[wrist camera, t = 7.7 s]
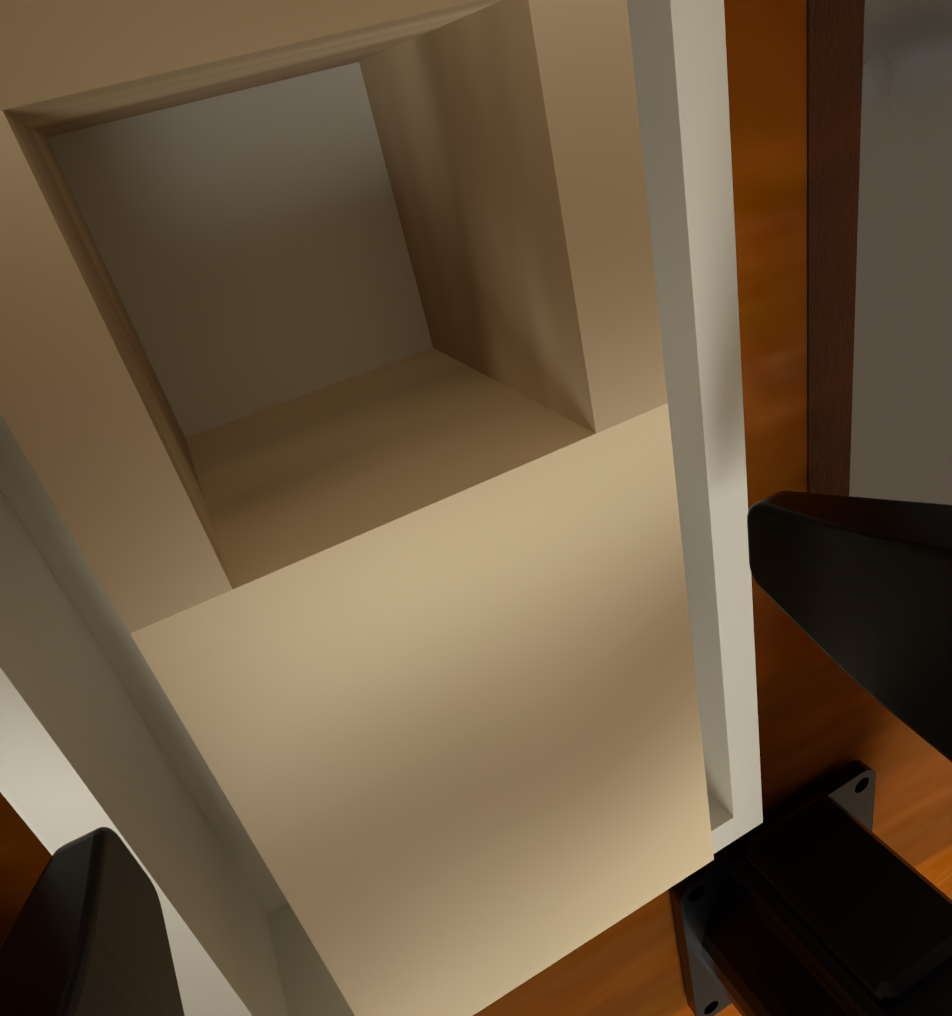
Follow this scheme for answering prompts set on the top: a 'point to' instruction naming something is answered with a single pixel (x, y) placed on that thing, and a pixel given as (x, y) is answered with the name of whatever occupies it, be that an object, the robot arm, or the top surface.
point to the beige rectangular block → (394, 488)
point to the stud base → (880, 249)
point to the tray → (301, 370)
